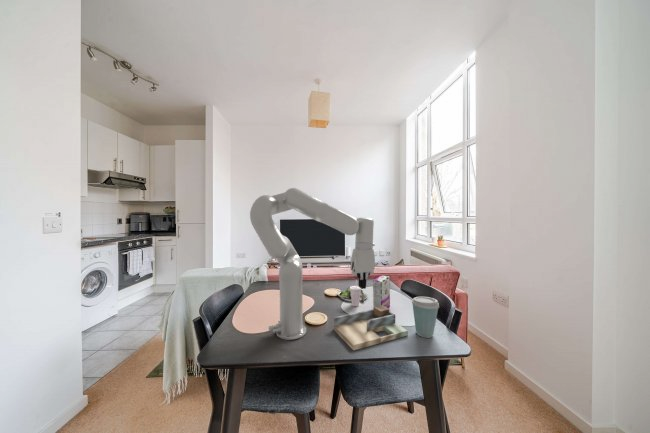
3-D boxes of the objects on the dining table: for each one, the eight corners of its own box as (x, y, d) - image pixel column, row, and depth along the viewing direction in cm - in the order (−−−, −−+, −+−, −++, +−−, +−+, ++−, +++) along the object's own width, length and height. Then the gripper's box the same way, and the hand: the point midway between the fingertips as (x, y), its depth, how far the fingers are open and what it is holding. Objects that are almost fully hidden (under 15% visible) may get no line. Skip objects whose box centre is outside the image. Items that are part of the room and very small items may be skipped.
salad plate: (376, 301, 135) (376, 293, 135) (348, 306, 128) (348, 298, 128) (359, 290, 153) (359, 283, 153) (334, 294, 146) (334, 287, 146)
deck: (353, 350, 87) (353, 335, 87) (333, 329, 102) (333, 316, 102) (407, 335, 97) (407, 322, 97) (382, 318, 113) (382, 306, 113)
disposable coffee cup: (405, 330, 101) (406, 296, 101) (424, 325, 105) (424, 292, 105) (425, 343, 91) (425, 305, 91) (445, 337, 96) (445, 301, 95)
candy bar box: (381, 304, 130) (381, 274, 129) (390, 306, 127) (390, 276, 126) (372, 311, 121) (372, 279, 120) (381, 313, 118) (381, 281, 117)
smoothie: (358, 308, 124) (358, 282, 124) (347, 305, 128) (347, 280, 128) (363, 304, 130) (363, 279, 130) (352, 301, 133) (352, 277, 133)
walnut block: (380, 322, 105) (380, 311, 104) (373, 317, 109) (373, 307, 109) (389, 320, 107) (389, 309, 107) (382, 315, 111) (382, 305, 111)
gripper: (373, 244, 108) (371, 283, 109) (344, 245, 103) (343, 286, 103) (383, 246, 102) (381, 288, 102) (353, 247, 96) (351, 292, 96)
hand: (362, 287), depth 102 cm, fingers closed
